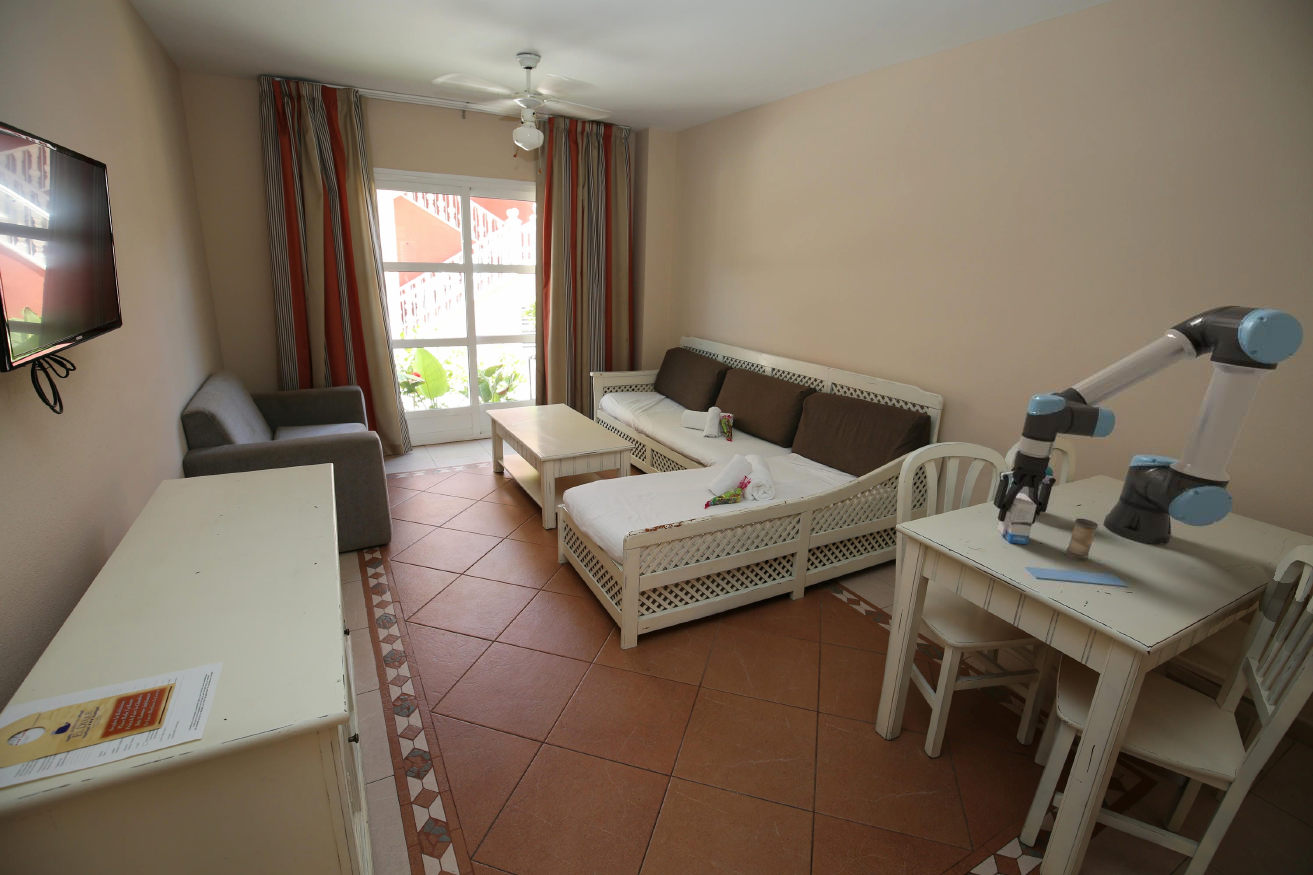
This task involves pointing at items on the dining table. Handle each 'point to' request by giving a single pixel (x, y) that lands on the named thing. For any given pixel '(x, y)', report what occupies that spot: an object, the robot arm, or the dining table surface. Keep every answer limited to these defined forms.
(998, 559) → the dining table surface
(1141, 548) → the dining table surface
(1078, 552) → the tan cylindrical piece
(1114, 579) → the tape line
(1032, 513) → the ink box
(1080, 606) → the dining table surface
